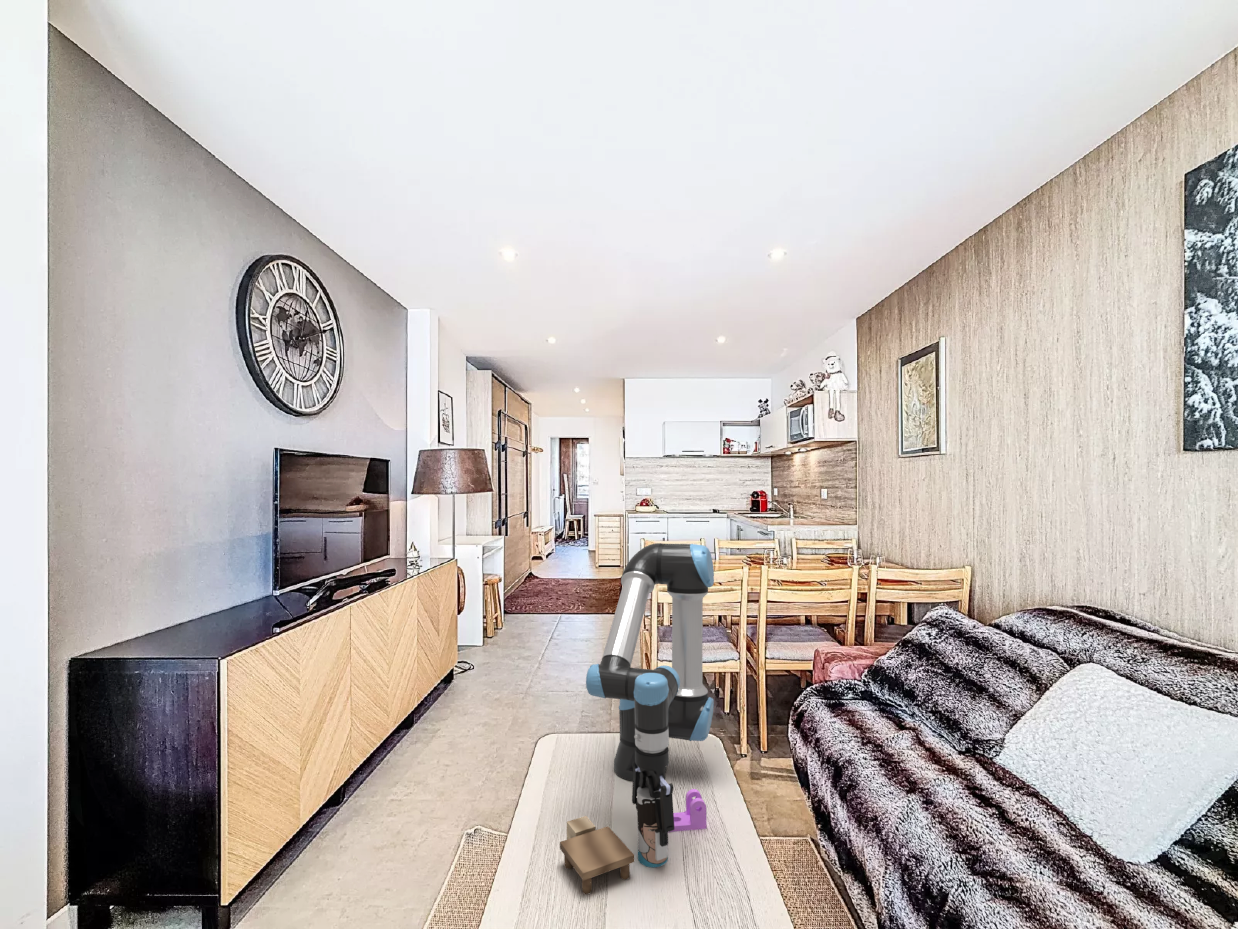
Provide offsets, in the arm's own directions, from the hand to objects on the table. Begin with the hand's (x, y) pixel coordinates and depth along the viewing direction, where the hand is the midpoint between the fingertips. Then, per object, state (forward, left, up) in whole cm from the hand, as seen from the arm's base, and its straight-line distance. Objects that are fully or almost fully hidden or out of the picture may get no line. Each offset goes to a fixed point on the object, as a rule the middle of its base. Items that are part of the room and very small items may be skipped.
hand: (652, 848), depth 140 cm
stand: (+13, -2, -2) cm, 13 cm away
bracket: (-12, -8, -2) cm, 15 cm away
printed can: (0, 0, -2) cm, 2 cm away
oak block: (+12, -12, -2) cm, 17 cm away
